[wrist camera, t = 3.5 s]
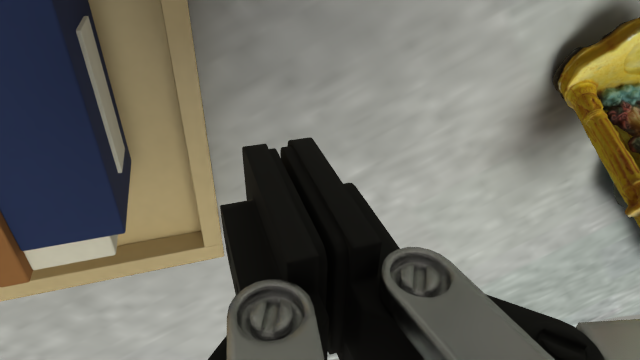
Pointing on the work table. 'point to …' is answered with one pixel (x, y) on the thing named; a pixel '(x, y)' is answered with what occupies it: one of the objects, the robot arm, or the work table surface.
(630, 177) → the shrine
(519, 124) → the work table surface
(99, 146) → the brown matchbox
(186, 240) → the boot tray
